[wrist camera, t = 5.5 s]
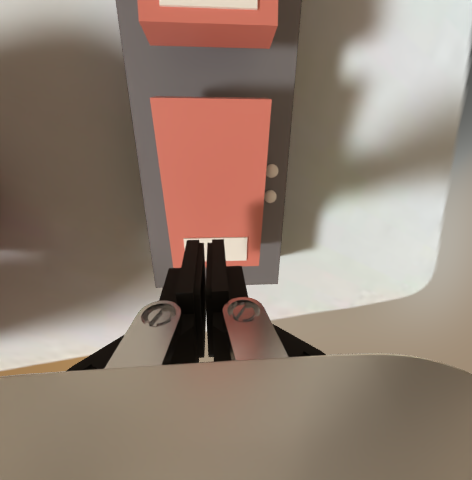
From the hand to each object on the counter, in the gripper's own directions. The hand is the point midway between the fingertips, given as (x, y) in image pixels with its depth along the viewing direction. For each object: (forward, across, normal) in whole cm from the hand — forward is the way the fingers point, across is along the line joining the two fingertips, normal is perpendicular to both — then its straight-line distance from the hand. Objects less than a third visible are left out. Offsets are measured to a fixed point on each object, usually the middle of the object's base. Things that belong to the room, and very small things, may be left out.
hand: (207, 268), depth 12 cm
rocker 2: (+4, 0, -3) cm, 5 cm away
